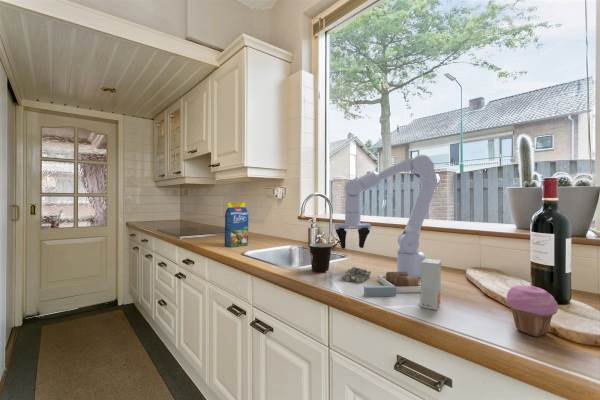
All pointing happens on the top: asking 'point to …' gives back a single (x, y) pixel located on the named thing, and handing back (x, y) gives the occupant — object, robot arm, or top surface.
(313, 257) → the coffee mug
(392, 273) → the racked roller
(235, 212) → the blue food package
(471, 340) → the top surface
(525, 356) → the top surface
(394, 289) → the block
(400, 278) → the loose roller
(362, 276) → the gravel pile
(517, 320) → the cupcake
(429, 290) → the skincare box
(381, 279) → the white shallow tray
